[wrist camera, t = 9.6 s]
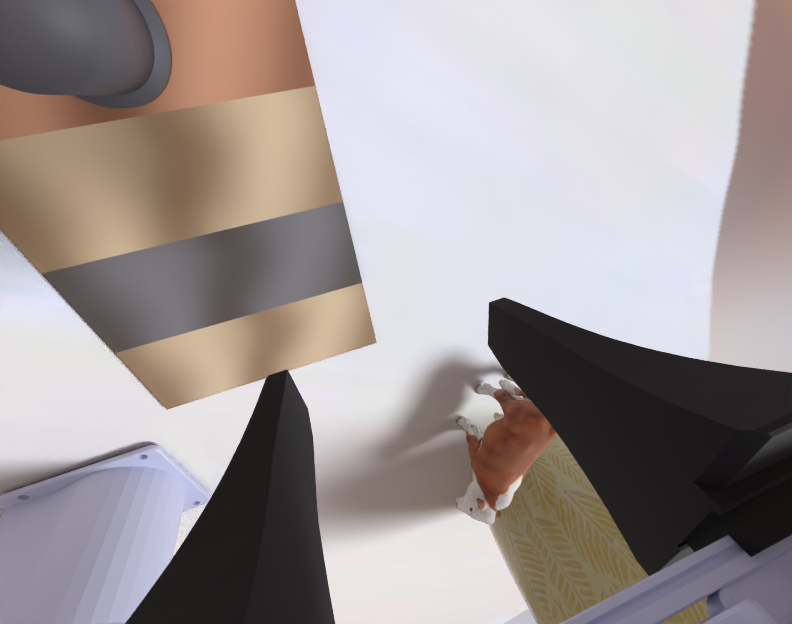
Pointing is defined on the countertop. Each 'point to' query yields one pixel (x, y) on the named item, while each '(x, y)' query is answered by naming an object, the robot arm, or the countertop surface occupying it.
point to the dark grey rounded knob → (85, 50)
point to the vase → (567, 543)
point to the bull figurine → (502, 451)
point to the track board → (194, 208)
